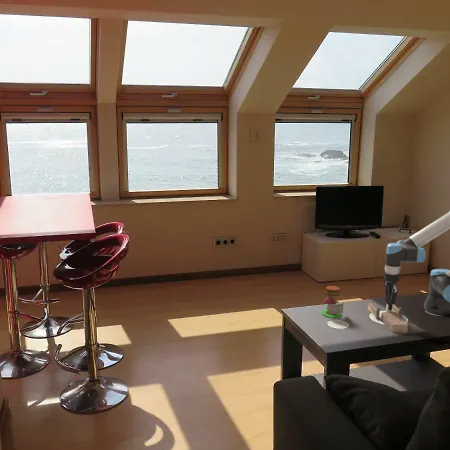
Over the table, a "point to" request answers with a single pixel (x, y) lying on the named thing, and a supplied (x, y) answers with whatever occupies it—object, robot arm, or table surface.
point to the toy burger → (332, 303)
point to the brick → (394, 322)
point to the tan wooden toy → (376, 312)
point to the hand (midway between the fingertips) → (388, 315)
